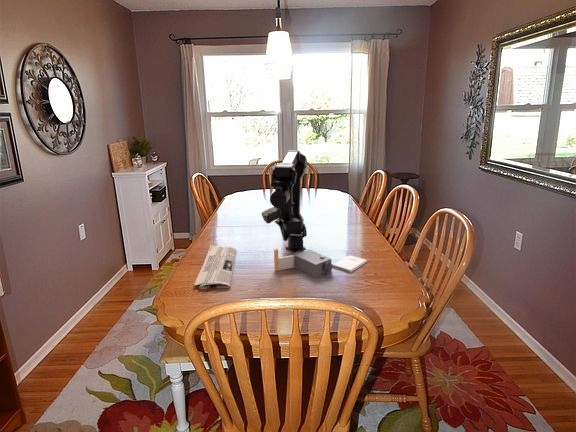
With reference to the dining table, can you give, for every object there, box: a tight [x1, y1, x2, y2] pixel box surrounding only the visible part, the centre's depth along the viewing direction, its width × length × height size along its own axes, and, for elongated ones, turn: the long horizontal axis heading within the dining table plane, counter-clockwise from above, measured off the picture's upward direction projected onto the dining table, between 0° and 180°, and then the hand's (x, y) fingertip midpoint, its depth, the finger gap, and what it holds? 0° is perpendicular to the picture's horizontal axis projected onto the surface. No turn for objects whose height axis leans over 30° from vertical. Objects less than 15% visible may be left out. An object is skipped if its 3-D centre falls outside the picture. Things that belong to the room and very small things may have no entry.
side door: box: [273, 247, 296, 272], centre depth 142 cm, size 8×1×8 cm, turn 111°
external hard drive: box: [332, 254, 368, 273], centre depth 146 cm, size 2×8×12 cm
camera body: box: [294, 249, 333, 278], centre depth 142 cm, size 14×8×6 cm, turn 38°
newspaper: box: [193, 244, 237, 291], centre depth 145 cm, size 35×12×4 cm, turn 4°
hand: (285, 240), depth 140 cm, fingers closed
